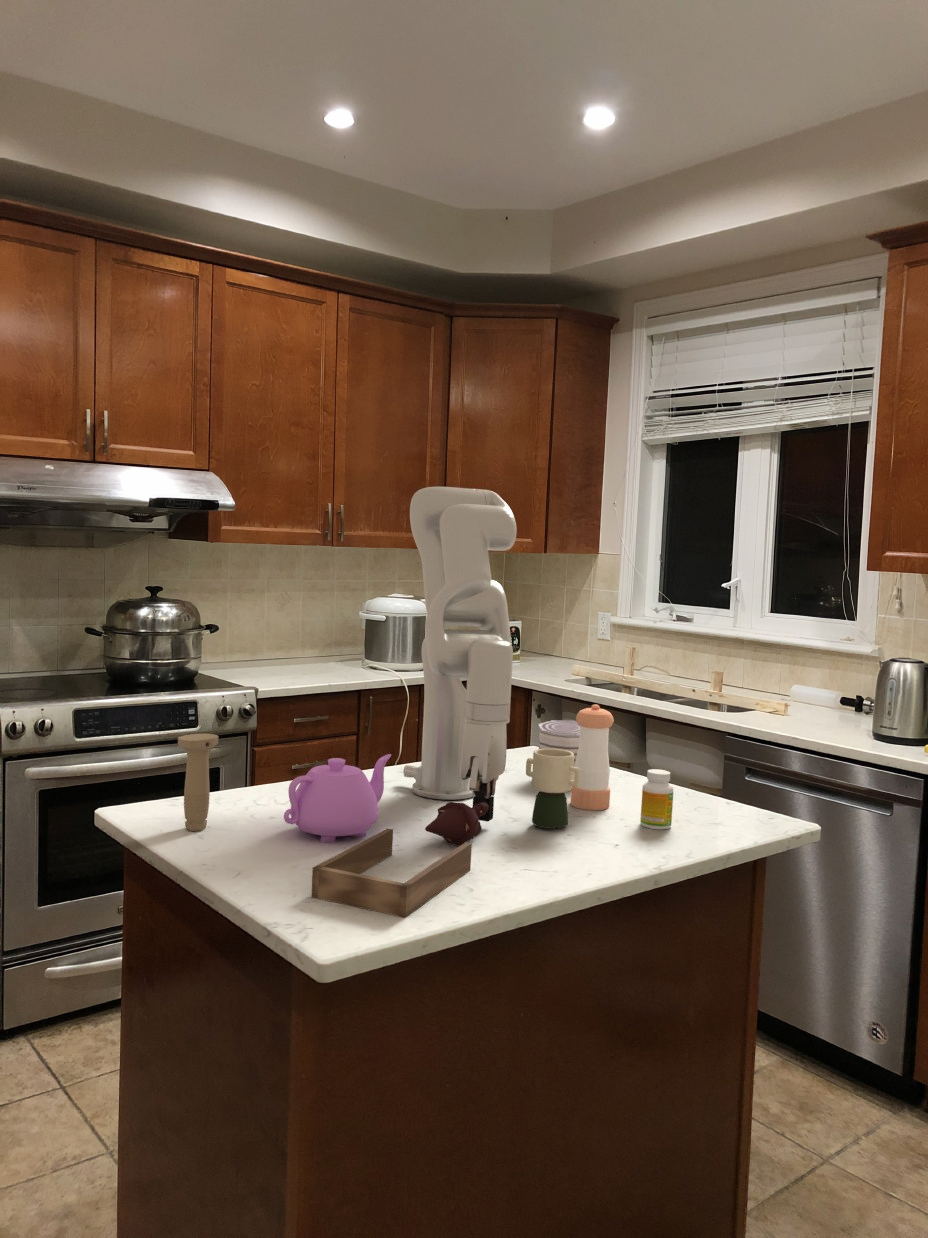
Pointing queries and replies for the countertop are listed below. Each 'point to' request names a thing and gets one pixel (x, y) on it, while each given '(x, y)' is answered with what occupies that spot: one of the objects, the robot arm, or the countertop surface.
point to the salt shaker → (593, 759)
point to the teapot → (336, 799)
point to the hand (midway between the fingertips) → (482, 819)
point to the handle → (197, 778)
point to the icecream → (458, 822)
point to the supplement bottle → (657, 800)
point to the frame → (352, 888)
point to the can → (560, 735)
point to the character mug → (552, 785)
